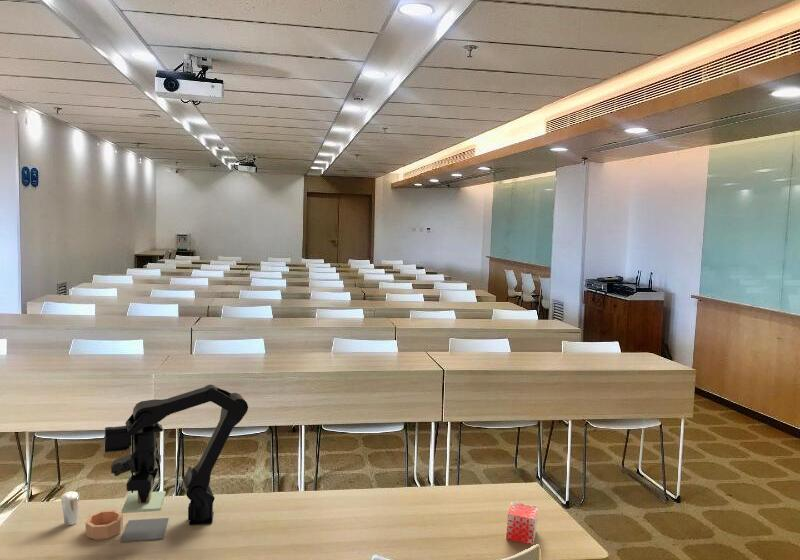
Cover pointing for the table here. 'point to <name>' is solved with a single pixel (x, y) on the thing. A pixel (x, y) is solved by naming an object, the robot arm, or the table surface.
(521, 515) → the puzzle cube
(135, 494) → the cover board
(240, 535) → the table surface
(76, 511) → the milkshake
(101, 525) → the bowl
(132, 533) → the mat
